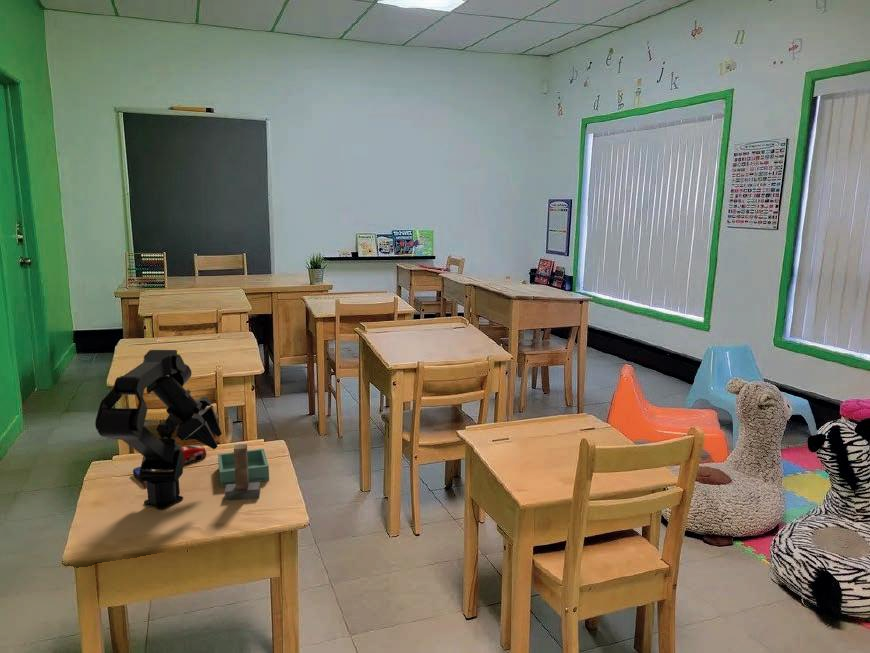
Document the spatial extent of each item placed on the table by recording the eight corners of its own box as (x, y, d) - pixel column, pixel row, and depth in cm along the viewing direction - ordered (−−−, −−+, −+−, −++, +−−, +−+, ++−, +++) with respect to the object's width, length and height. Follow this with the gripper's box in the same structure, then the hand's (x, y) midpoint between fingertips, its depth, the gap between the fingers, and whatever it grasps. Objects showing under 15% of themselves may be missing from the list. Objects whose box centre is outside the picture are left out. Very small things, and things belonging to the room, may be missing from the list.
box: (269, 480, 168) (268, 465, 167) (220, 486, 163) (220, 472, 163) (264, 462, 179) (263, 448, 178) (218, 468, 174) (217, 454, 174)
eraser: (163, 485, 165) (162, 479, 164) (146, 490, 162) (146, 484, 161) (148, 470, 173) (147, 464, 172) (132, 474, 170) (131, 468, 170)
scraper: (225, 500, 156) (222, 450, 154) (227, 493, 160) (224, 444, 157) (259, 498, 158) (256, 448, 155) (260, 490, 162) (258, 442, 159)
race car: (163, 473, 171) (162, 459, 171) (154, 467, 175) (153, 453, 174) (209, 458, 181) (208, 445, 180) (199, 453, 185) (198, 440, 184)
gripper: (156, 405, 166) (198, 448, 170) (139, 429, 148) (186, 477, 152) (190, 378, 166) (231, 421, 170) (177, 399, 148) (223, 446, 153)
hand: (218, 441), depth 161 cm, fingers open, 9 cm apart
